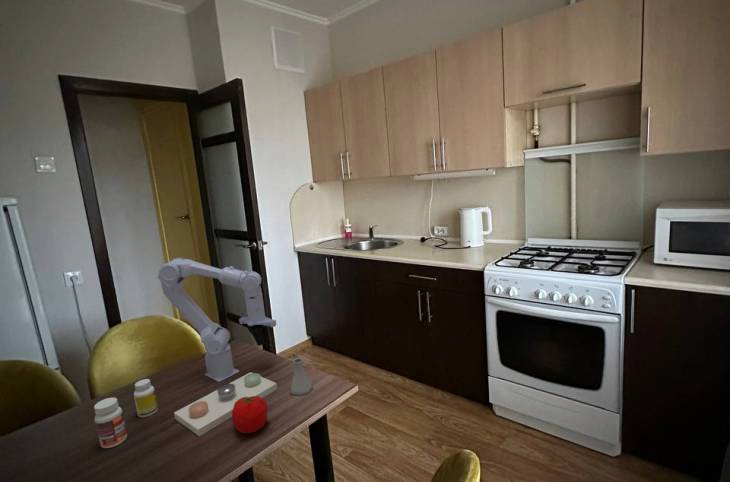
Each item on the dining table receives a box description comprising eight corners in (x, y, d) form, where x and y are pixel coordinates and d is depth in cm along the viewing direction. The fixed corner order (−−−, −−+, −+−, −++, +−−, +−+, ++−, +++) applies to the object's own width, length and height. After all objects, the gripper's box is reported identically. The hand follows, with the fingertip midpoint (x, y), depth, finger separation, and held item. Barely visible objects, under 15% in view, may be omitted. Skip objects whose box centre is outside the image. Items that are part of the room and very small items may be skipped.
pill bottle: (122, 446, 100) (113, 407, 98) (96, 451, 99) (87, 412, 97) (131, 431, 106) (123, 394, 104) (106, 436, 105) (98, 399, 103)
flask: (315, 382, 122) (312, 354, 121) (310, 395, 115) (306, 365, 114) (293, 383, 123) (290, 354, 122) (287, 396, 116) (283, 366, 114)
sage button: (241, 383, 121) (240, 378, 121) (254, 376, 125) (254, 371, 125) (250, 388, 118) (249, 383, 118) (263, 380, 122) (263, 375, 122)
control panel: (175, 418, 110) (173, 412, 109) (251, 377, 129) (250, 372, 129) (199, 436, 101) (198, 429, 101) (277, 389, 121) (276, 383, 120)
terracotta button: (186, 413, 108) (185, 408, 107) (202, 404, 111) (202, 399, 111) (195, 419, 104) (193, 414, 104) (211, 410, 108) (210, 404, 108)
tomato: (251, 443, 96) (246, 413, 95) (224, 432, 102) (219, 404, 100) (277, 422, 104) (273, 394, 103) (251, 412, 109) (247, 386, 108)
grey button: (215, 395, 114) (214, 389, 114) (229, 387, 118) (229, 382, 118) (224, 400, 111) (223, 394, 111) (239, 391, 115) (238, 386, 115)
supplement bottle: (161, 410, 114) (155, 381, 113) (141, 420, 111) (134, 389, 109) (154, 404, 118) (148, 375, 116) (135, 413, 114) (129, 383, 113)
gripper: (230, 310, 130) (236, 347, 132) (264, 312, 124) (270, 351, 126) (245, 303, 136) (250, 338, 139) (277, 305, 130) (282, 342, 133)
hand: (260, 344), depth 133 cm, fingers closed
